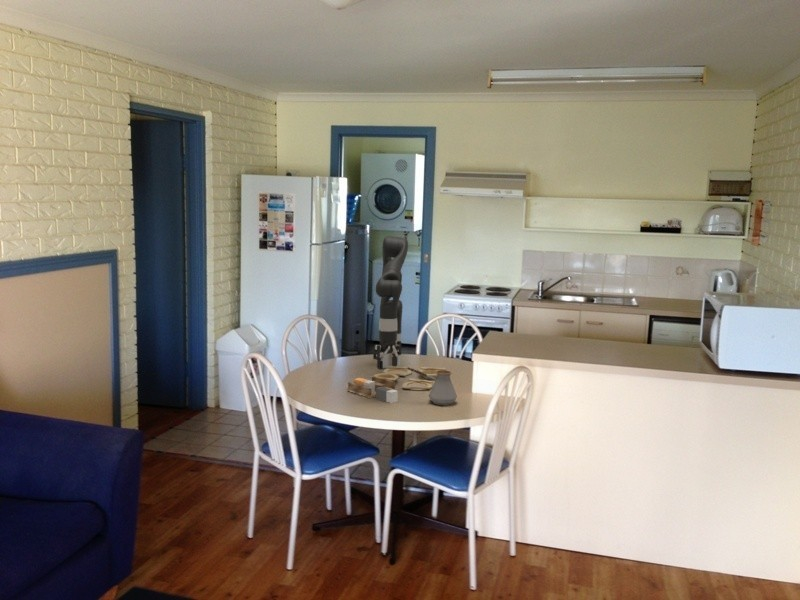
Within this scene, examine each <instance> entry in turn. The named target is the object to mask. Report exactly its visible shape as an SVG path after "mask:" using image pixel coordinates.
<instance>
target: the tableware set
mask: <svg viewBox="0 0 800 600" xmlns="http://www.w3.org/2000/svg"><path fill="white" fill-rule="evenodd" d="M407 367H409V368H411V369H413V367H412V366H400V367H392V366H387V368H388V369H386V368H384V370H383V371H382V373H375V374H374V375H372V376H375V377H379V378H382V379H386V380H390V381H394V382H396V381H397V380H399V377H407V376H410V375H411V374H412V373H413V371H411V370H409V369H408V370H406V369H407ZM439 370H446V371H447V368H446V367H428V366H421V367H420V369H419V370H418V371H420V372H422V373H425V374H427V375H429V376H432V377H434V378H437V374H436V371H439ZM395 371H396V372H395ZM400 371H403V372H406V371H407V372H406V373H403V372H400ZM392 372H393V373H392ZM372 376H371V375H370V376H369V379H372ZM421 376H422V378H423V377H424V378H423V379H418V378H409V379H408V381H406V382H404V383H402V387H401V388H402V389H406V390H409V389H410V390H409V391H426V390H431V389H432V387H433V384H434V381H430V380H432V379H431V378H429V377H426V376H423V375H421ZM425 378H427V379H425ZM413 383H420V384H425V385H426V386H427V387H413V386H408V385H409V384H413Z"/></svg>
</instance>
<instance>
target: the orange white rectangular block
mask: <svg viewBox="0 0 800 600" xmlns="http://www.w3.org/2000/svg"><path fill="white" fill-rule="evenodd" d="M353 383H354V384H357V385H361V386H364V387H368V388H371V393H373V392H375V382H374V381H372V380H371V379H366V378H363V377H357V378H354V379H353Z"/></svg>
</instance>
